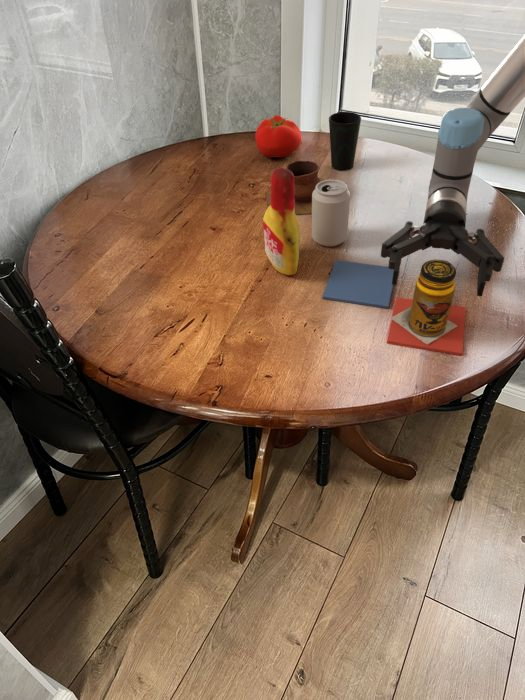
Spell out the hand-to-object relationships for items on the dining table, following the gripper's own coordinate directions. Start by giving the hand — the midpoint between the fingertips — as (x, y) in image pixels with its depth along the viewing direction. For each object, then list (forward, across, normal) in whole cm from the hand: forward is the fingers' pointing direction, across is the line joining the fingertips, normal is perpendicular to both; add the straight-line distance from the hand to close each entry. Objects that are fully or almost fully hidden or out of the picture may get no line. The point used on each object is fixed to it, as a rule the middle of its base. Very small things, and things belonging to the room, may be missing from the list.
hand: (437, 283), depth 88 cm
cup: (-56, +26, -8) cm, 62 cm away
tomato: (-60, +44, -8) cm, 75 cm away
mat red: (+1, 0, -8) cm, 8 cm away
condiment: (+2, +1, -8) cm, 8 cm away
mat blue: (-8, +13, -8) cm, 17 cm away
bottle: (-11, +29, -8) cm, 32 cm away
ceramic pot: (-39, +32, -8) cm, 51 cm away
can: (-22, +22, -8) cm, 32 cm away
